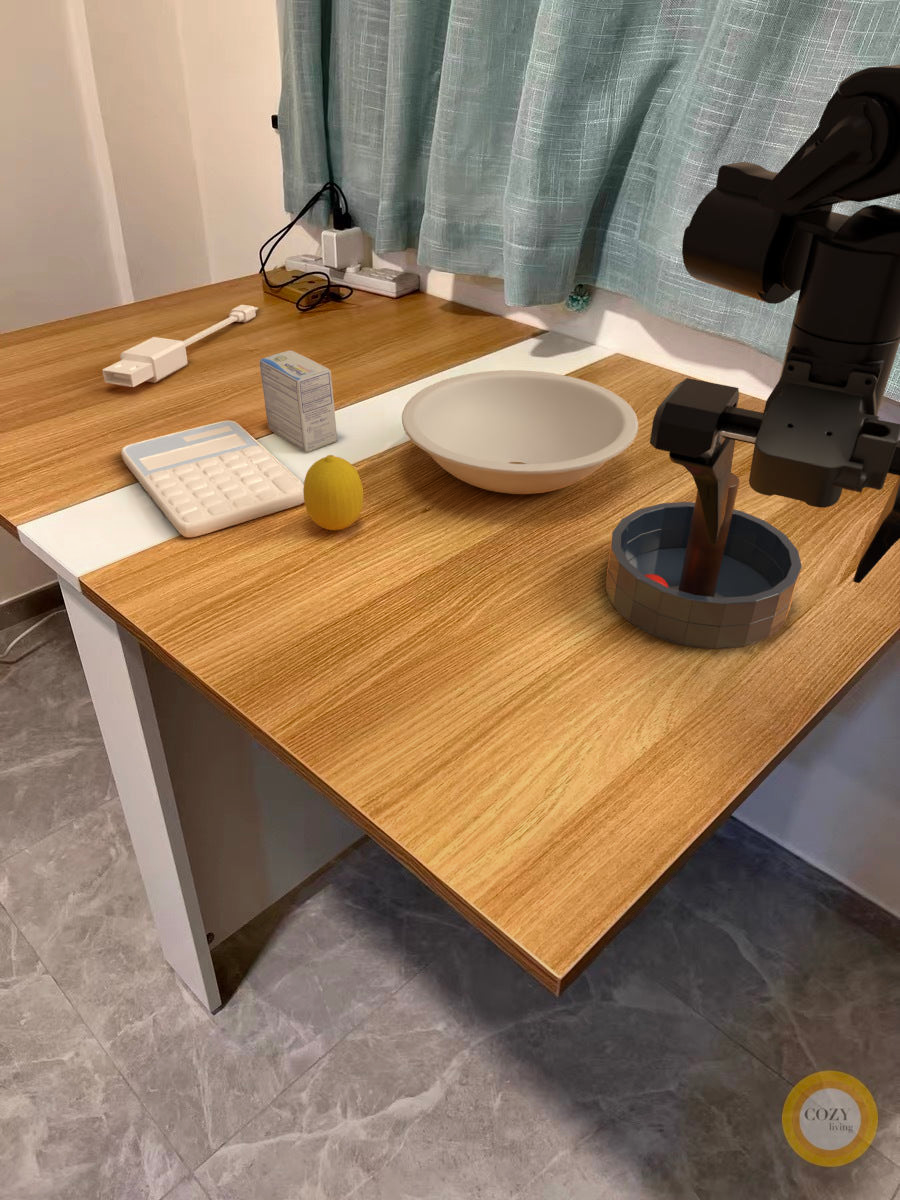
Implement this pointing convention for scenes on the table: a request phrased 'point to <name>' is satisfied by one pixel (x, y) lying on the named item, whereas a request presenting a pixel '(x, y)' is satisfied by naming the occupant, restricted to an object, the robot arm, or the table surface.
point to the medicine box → (299, 400)
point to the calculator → (212, 477)
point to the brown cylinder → (706, 549)
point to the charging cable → (163, 354)
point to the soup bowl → (519, 428)
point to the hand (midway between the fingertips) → (783, 560)
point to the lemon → (333, 493)
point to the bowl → (744, 588)
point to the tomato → (657, 579)
